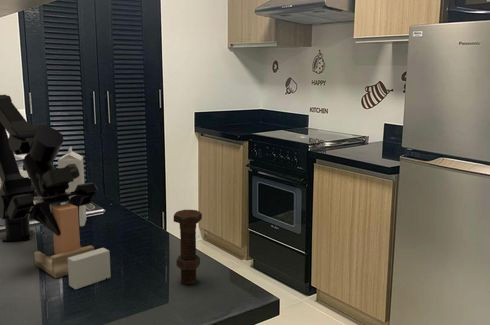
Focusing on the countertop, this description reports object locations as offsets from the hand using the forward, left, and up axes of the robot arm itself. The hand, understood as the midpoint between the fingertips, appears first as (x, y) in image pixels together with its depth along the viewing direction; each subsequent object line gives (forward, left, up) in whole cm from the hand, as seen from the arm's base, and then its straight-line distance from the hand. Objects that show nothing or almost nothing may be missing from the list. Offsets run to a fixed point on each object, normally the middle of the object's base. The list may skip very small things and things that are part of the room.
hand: (69, 232), depth 103 cm
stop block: (+7, +4, -9) cm, 12 cm away
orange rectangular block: (-1, -1, -7) cm, 7 cm away
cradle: (-2, -2, -9) cm, 9 cm away
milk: (-33, -3, -9) cm, 35 cm away
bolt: (+12, +24, -9) cm, 28 cm away
